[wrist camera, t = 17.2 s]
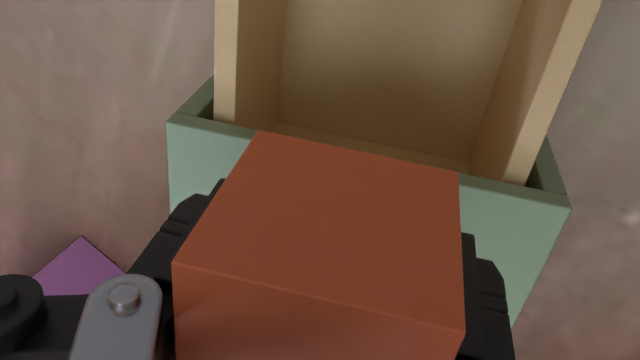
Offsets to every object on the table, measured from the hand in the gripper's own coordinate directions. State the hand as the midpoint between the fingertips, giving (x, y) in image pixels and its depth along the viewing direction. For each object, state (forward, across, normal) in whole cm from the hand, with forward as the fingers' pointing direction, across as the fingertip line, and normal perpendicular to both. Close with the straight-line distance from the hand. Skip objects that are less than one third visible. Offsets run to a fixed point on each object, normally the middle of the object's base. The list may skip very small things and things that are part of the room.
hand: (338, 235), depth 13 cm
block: (0, 0, 0) cm, 0 cm away
